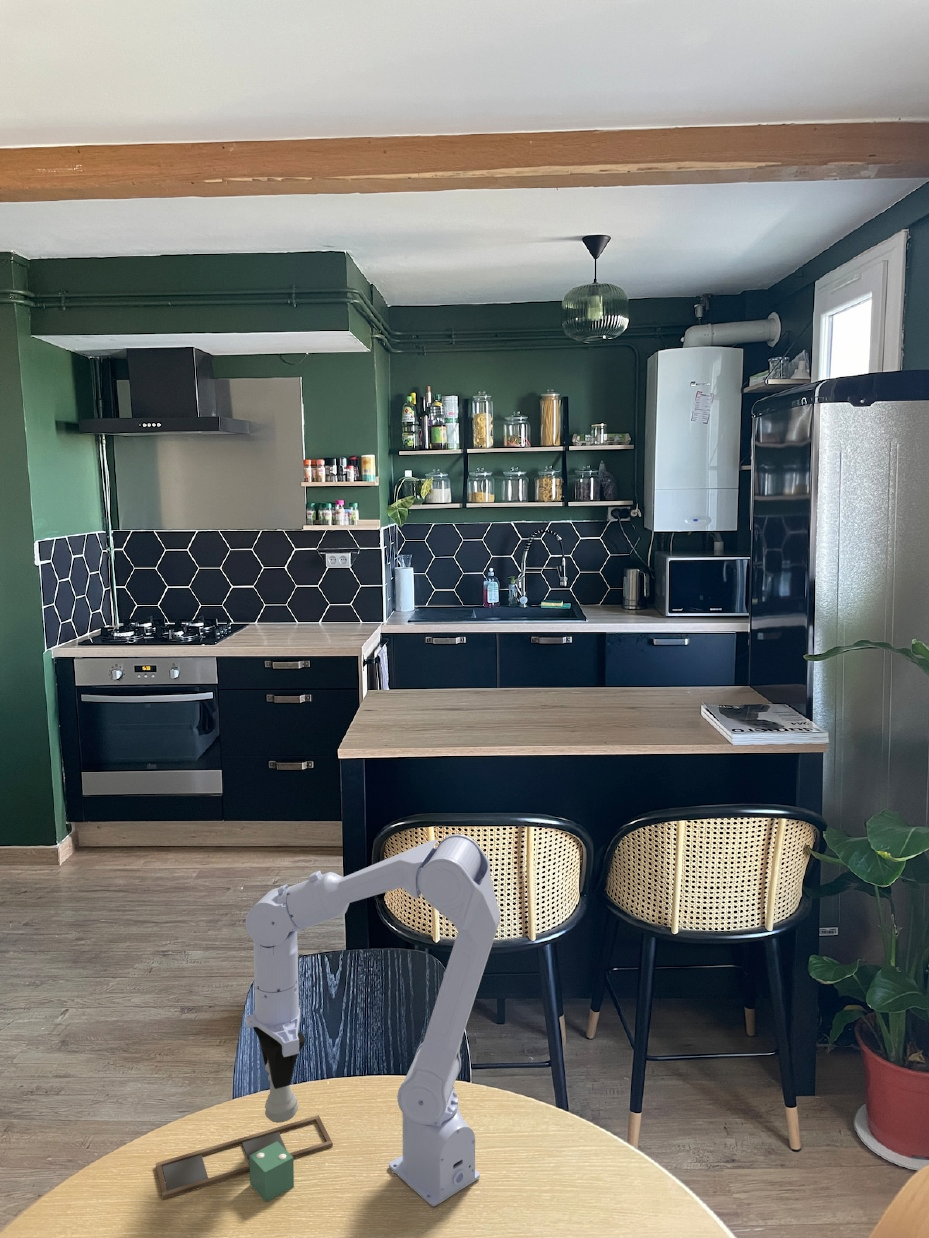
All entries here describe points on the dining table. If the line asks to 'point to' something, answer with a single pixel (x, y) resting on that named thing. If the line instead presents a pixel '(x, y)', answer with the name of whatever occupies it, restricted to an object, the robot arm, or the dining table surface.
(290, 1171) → the green die
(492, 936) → the robot arm
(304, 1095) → the dining table surface
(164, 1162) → the track board
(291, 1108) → the rook chess piece
